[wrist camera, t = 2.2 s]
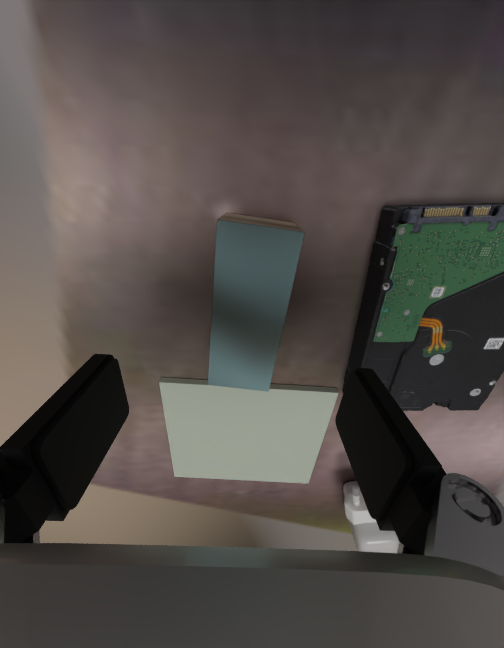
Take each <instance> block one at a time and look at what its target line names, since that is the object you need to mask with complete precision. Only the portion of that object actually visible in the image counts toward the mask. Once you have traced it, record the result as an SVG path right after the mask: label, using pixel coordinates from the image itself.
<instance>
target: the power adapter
mask: <svg viewBox="0 0 504 648" xmlns="http://www.w3.org/2000/svg"><path fill="white" fill-rule="evenodd" d="M343 494H344V503H345V504H344V505H345V514H346V517H347V518H348V521H349V524H350V528H351V532H352V535H353V539H354V541H355V545H356V549H357V551H363V552H382V553H397V552H398V548H399V540H398V537H397V535H396V533H395V531H380V530H379V527H378V524H377V522H376V519H373V518H371V516H370V514H369V512H368V509H367V507H366V504H365V501H364V499H363V496H362V493H361V491H360V488H359V485H358V483H357V481H352V482H347V483H345V484H344V485H343Z"/></svg>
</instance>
